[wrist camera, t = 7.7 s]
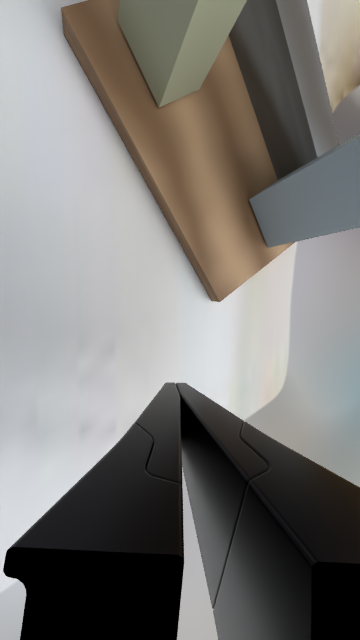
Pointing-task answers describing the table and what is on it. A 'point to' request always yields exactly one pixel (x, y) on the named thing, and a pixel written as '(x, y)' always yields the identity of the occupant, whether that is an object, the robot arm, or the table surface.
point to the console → (216, 127)
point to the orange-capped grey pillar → (313, 198)
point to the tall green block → (176, 40)
